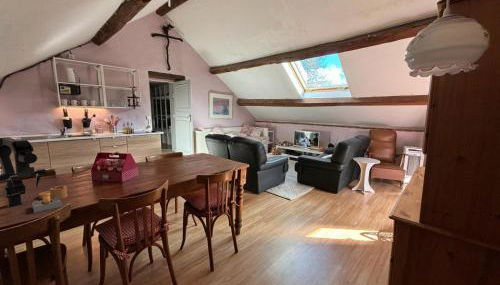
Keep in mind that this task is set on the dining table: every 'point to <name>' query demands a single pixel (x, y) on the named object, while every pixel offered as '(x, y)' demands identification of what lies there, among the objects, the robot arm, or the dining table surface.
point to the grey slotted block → (46, 205)
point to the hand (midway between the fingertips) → (25, 188)
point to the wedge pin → (46, 198)
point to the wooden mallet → (56, 192)
